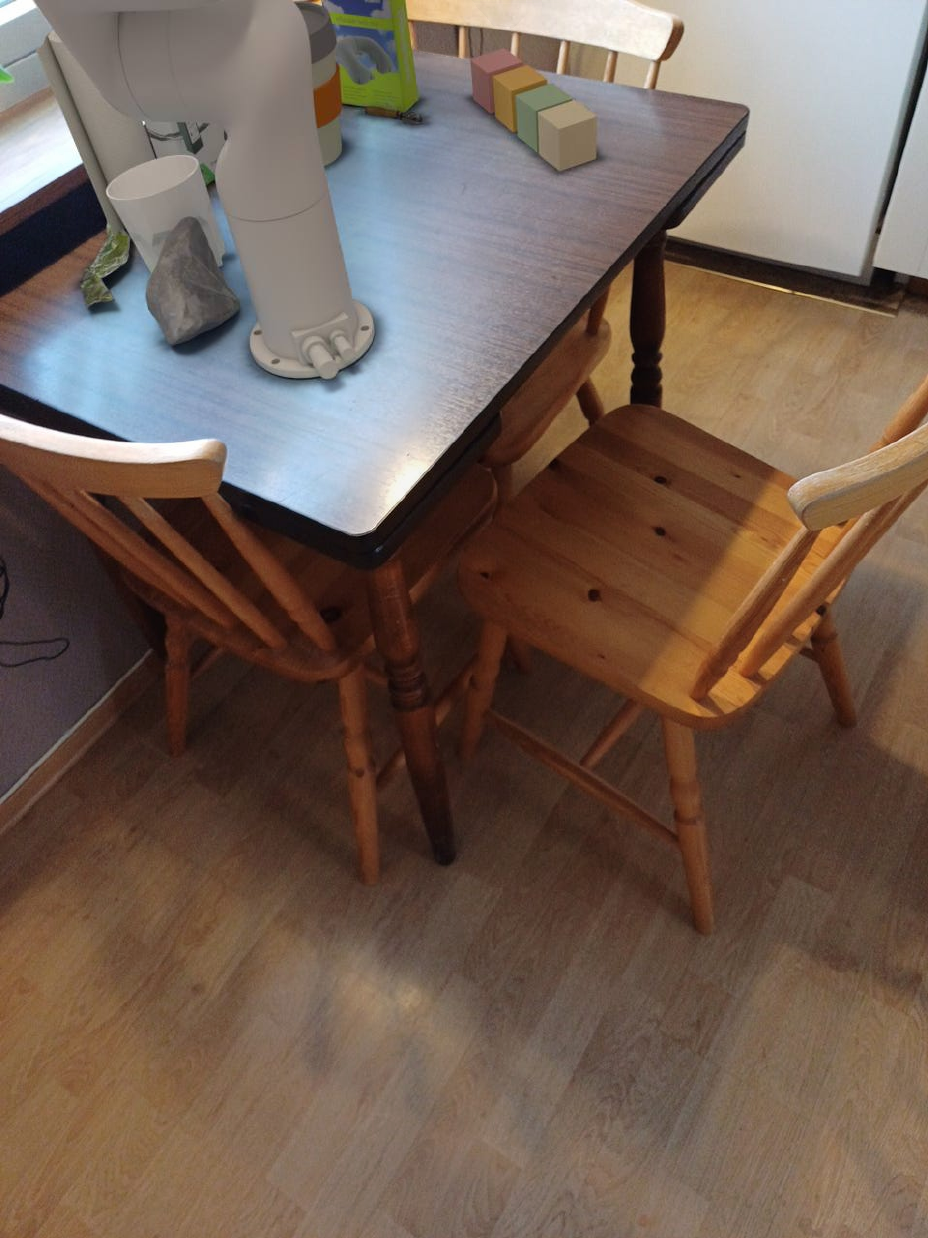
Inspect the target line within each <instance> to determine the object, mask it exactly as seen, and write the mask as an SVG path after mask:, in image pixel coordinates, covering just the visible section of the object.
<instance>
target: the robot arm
mask: <svg viewBox="0 0 928 1238" xmlns="http://www.w3.org/2000/svg"><path fill="white" fill-rule="evenodd" d="M31 1H32V2H33V3H34V5H35V6H36V8H37V9H38V11H39V12H40V14H41V15H42V17H43V18H44V19H45V20H46V22H47V24H48V25H49V26H50V28H51V29H52V30H54V32H55V33H56V34H57V36H58V37H59V38H60V40H61V41H62V43H63V44H64V45H65V47H66V48H67V49H68V51H69V52H70V54H71V55H72V56H73V58H74V59H75V60H76V62H77V63H78V65H79V66H80V67H81V69H82V70H83V71H84V73H85V74H86V76H87V77H88V78H89V80H90V81H91V82H92V84H93V85H94V86H95V88H96V89H97V90H98V92H99V93H100V94H101V95H102V97H103V98H104V99H105V100H106V101H107V102H108V103H109V104H110V105H111V106H112V107H113V108H114V109H115V110H117V111H118V112H119V113H121V114H123V115H124V116H126V117H129V118H131V119H135V120H139V121H142V122H144V121H147V122H202V123H210V124H220V125H222V126H224V127H225V128H226V129H227V132H228V138H227V141H226V143H225V145H224V147H223V148H222V150H221V153H220V155H219V157H218V160H217V164H216V169H215V180H214V181H215V186H216V190H217V194H218V197H219V201H220V205H221V207H222V209H223V213H224V215H225V220H226V222H227V225H228V228H229V231H230V235H231V239H232V241H233V245H234V249H235V251H236V254H237V258H238V261H239V263H240V267H241V270H242V273H243V276H244V279H245V283H246V285H247V286H246V287H247V289H248V293H249V295H250V298H251V303H252V305H253V308H254V311H255V315H256V318H257V322H256V323H255V325H254V326H253V328H252V330H251V331H250V334H249V348H250V352H251V354H252V356H253V359H254V361H255V362H256V363H257V364H258V366H259V367H260V368H262V369H263V370H265V371H266V372H269V373H271V374H273V375H276V376H280V377H283V378H289V379H291V378H292V379H311V378H318V377H320V378H321V379H324V380H330V379H333V378H334V377H336V376H337V374H338V373H339V371H340V370H343V369H345V368H346V367H349V366H350V365H351V364H353V363H355V362H356V361H357V360H358V359H360V358H361V357H362V356H364V354H365V353H366V352H367V351H368V349H370V346H371V345H372V343H373V341H374V337H375V334H376V333H375V330H376V329H375V322H374V319H373V318H374V317H373V316H372V314H371V312H370V309H368V308H367V307H366V305H364V304H363V303H362V302H359V301H358V300H356V299H354V298H353V293H352V288H351V284H350V279H349V275H348V269H347V266H346V261H345V256H344V252H343V248H342V241H341V238H340V234H339V228H338V224H337V220H336V215H335V210H334V205H333V201H332V196H331V192H330V191H331V190H330V187H329V183H328V178H327V173H326V169H325V166H324V164H323V159H322V154H321V149H320V143H319V138H318V131H317V125H316V118H315V108H314V97H313V81H312V61H311V48H310V40H309V35H308V30H307V26H306V23H305V20H304V18H303V15H302V14H301V12H300V10H299V8H298V7H297V5H296V4H295V3H294V2H293V1H294V0H31Z"/></svg>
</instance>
